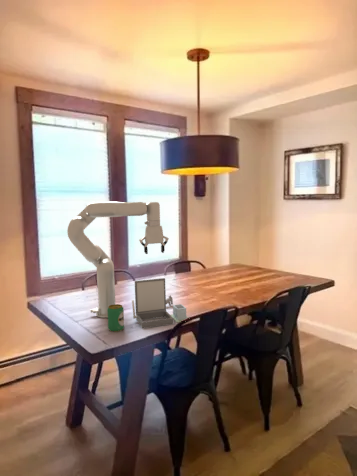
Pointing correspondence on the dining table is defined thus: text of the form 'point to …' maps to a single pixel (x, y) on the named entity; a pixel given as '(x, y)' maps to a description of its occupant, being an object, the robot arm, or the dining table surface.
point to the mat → (176, 319)
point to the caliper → (169, 300)
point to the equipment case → (151, 303)
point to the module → (179, 312)
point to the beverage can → (115, 317)
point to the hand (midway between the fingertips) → (154, 253)
